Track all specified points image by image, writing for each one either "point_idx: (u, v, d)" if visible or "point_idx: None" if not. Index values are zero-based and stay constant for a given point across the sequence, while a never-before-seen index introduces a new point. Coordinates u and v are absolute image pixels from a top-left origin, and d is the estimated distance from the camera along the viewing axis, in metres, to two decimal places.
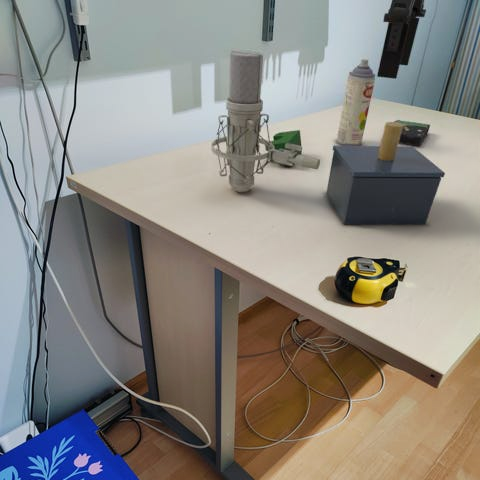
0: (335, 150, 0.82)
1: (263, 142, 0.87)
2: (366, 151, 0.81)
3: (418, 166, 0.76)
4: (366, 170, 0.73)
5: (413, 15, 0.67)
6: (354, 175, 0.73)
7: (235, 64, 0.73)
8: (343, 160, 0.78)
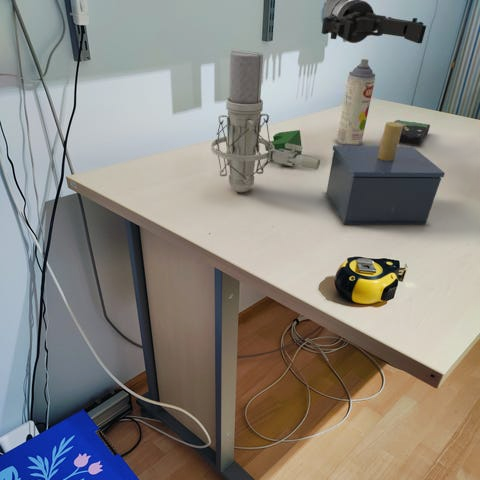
0: (335, 150, 0.82)
1: (263, 142, 0.87)
2: (366, 151, 0.81)
3: (418, 166, 0.76)
4: (366, 170, 0.73)
5: None
6: (354, 175, 0.73)
7: (236, 64, 0.73)
8: (343, 160, 0.78)
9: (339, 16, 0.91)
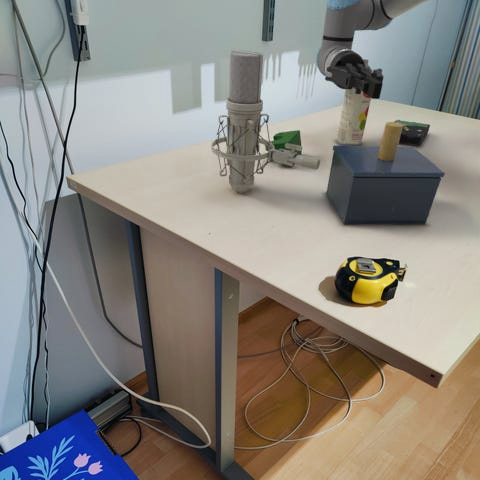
0: (335, 150, 0.82)
1: (263, 142, 0.87)
2: (366, 151, 0.81)
3: (418, 166, 0.76)
4: (366, 170, 0.73)
5: None
6: (354, 175, 0.73)
7: (236, 64, 0.73)
8: (343, 160, 0.78)
9: (332, 65, 0.97)
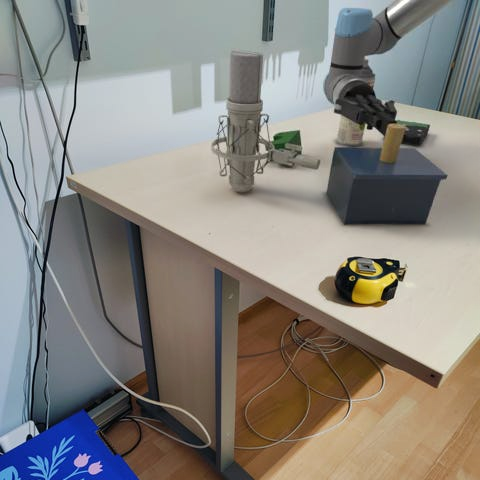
0: (336, 152, 0.81)
1: (263, 142, 0.87)
2: (368, 153, 0.81)
3: (420, 168, 0.75)
4: (368, 172, 0.73)
5: None
6: (356, 177, 0.72)
7: (236, 64, 0.73)
8: (345, 162, 0.77)
9: (341, 96, 0.92)
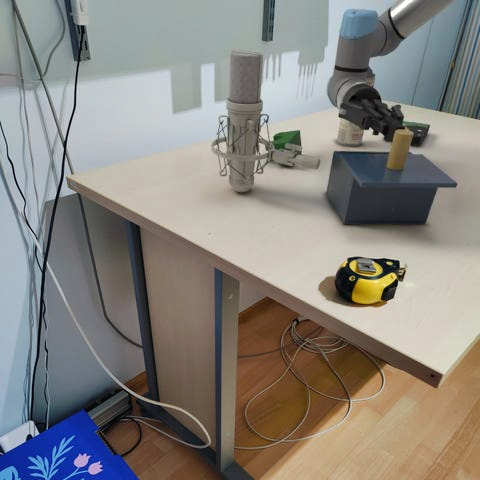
0: (341, 158, 0.79)
1: (263, 142, 0.87)
2: (374, 159, 0.78)
3: (429, 176, 0.72)
4: (374, 180, 0.70)
5: None
6: (362, 186, 0.69)
7: (236, 64, 0.73)
8: (350, 169, 0.74)
9: (345, 100, 0.89)
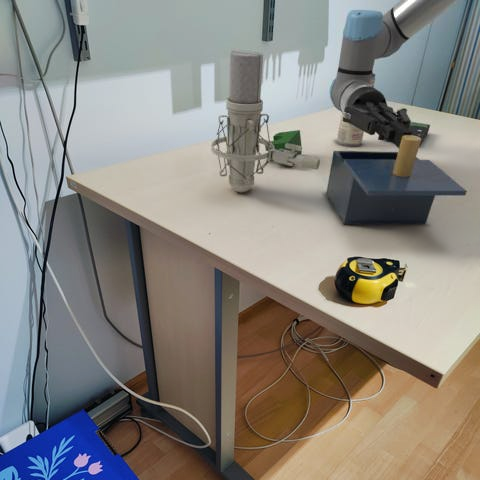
0: (346, 164, 0.76)
1: (263, 142, 0.87)
2: (380, 166, 0.75)
3: (437, 183, 0.70)
4: (381, 188, 0.67)
5: None
6: (368, 194, 0.67)
7: (236, 64, 0.73)
8: (355, 176, 0.72)
9: (349, 103, 0.87)
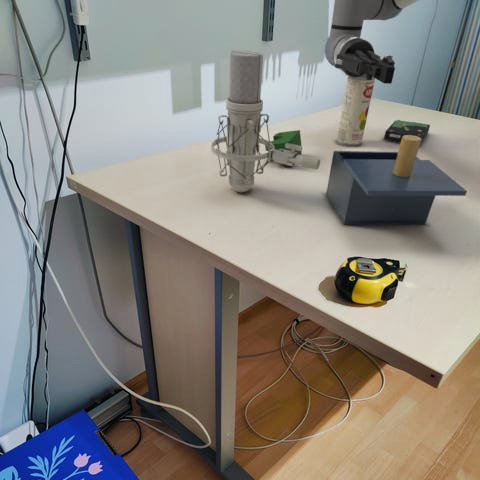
0: (346, 164, 0.76)
1: (263, 142, 0.87)
2: (380, 166, 0.75)
3: (437, 183, 0.70)
4: (381, 188, 0.67)
5: None
6: (368, 194, 0.67)
7: (236, 64, 0.73)
8: (355, 176, 0.72)
9: (341, 53, 0.97)
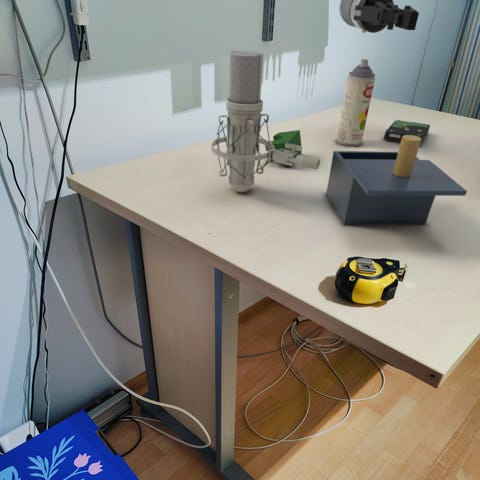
0: (346, 164, 0.76)
1: (263, 142, 0.87)
2: (380, 166, 0.75)
3: (437, 183, 0.70)
4: (381, 188, 0.67)
5: None
6: (368, 194, 0.67)
7: (236, 64, 0.73)
8: (355, 176, 0.72)
9: None
